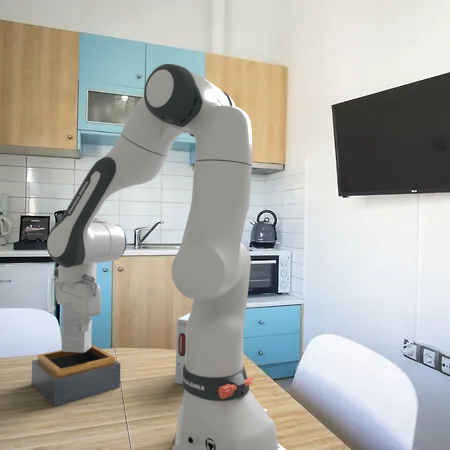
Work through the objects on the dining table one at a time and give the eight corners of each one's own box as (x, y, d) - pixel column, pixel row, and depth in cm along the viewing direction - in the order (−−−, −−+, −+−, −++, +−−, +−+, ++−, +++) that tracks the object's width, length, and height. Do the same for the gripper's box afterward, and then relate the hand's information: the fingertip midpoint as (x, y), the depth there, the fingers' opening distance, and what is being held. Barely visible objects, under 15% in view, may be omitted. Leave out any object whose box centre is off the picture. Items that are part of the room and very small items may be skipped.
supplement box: (174, 383, 98) (175, 318, 98) (188, 370, 107) (190, 311, 107) (208, 389, 95) (209, 322, 95) (220, 375, 104) (222, 314, 104)
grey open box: (119, 387, 95) (120, 357, 95) (54, 407, 84) (54, 373, 84) (88, 365, 109) (88, 339, 109) (27, 380, 98) (28, 351, 98)
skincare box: (91, 347, 98) (93, 301, 97) (84, 353, 93) (85, 304, 93) (69, 346, 98) (70, 300, 98) (60, 351, 94) (61, 303, 94)
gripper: (108, 276, 90) (107, 334, 90) (74, 268, 105) (73, 318, 105) (82, 278, 86) (81, 339, 86) (51, 269, 101) (50, 321, 101)
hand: (77, 327), depth 96 cm, fingers closed on skincare box, 7 cm apart
